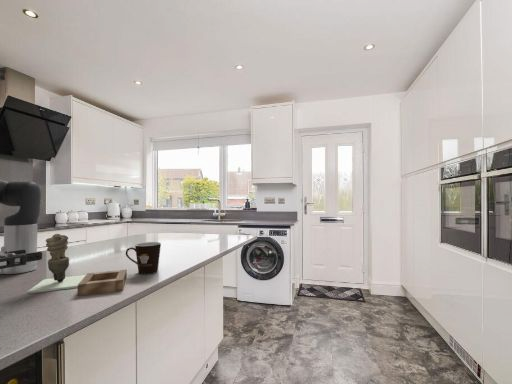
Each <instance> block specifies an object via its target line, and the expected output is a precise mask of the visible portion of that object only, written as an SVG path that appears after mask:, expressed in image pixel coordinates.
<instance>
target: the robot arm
mask: <svg viewBox="0 0 512 384" xmlns="http://www.w3.org/2000/svg"><path fill="white" fill-rule="evenodd" d="M41 192H42V191H41V188H40V186H39V184H38V183H36V182H34V181H8V180H3V179H1V178H0V204H1V205H3V206H8V207H19V210H18V211H17V212H15V213H14V214H11V215H8V216H6V217H5V218H4V222H3V223H4V224H3V246H1V247H0V275H4V274H5V275H14V274H23V273H27V272H31V271H35V270H37V268H38V267H37V266H38V261H40V260H42V259H43V252H42V251H38V221H39V217H40V212H41V211H40V210H41V201H42V200H41V198H42V193H41Z"/></svg>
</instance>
